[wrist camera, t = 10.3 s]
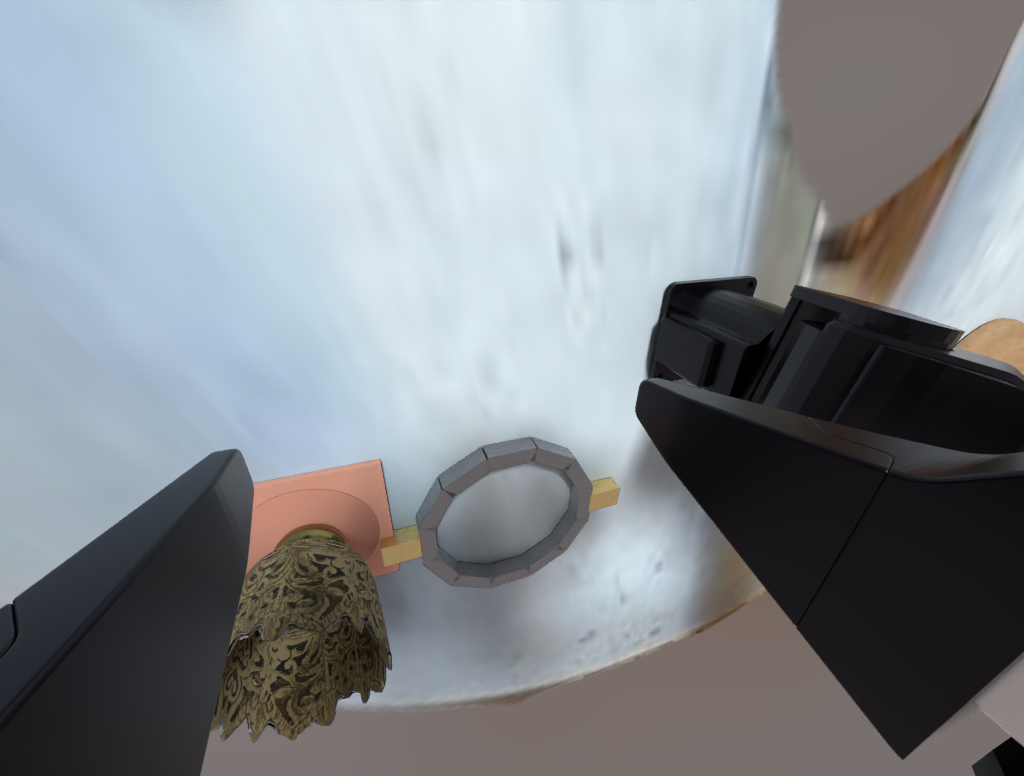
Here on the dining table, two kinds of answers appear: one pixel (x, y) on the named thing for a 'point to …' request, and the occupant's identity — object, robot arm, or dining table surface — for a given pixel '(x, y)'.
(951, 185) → the dining table surface
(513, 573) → the collar
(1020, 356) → the candle holder
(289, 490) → the coaster
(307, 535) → the cup
